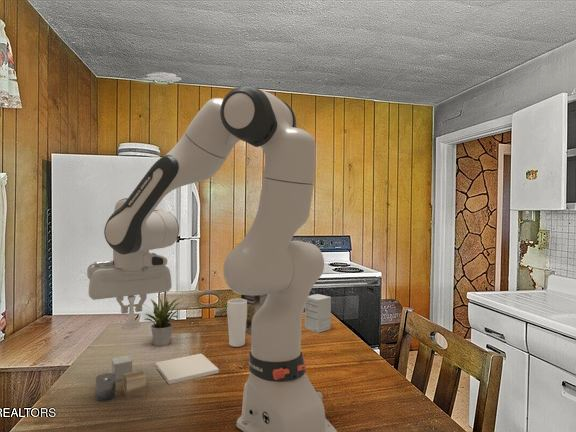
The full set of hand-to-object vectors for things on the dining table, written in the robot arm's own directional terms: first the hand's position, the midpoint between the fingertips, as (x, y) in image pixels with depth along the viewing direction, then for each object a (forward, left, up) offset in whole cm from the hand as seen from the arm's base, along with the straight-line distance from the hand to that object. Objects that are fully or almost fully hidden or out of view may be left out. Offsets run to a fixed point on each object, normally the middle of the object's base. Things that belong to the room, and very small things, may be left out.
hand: (131, 312), depth 104 cm
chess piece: (0, 0, -4) cm, 4 cm away
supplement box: (+12, -70, -19) cm, 74 cm away
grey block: (+6, +1, -19) cm, 20 cm away
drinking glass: (+12, -36, -19) cm, 43 cm away
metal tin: (-5, +7, -19) cm, 21 cm away
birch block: (-6, 0, -19) cm, 20 cm away
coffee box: (+22, -48, -19) cm, 56 cm away
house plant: (+26, -16, -19) cm, 36 cm away
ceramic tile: (+1, -15, -19) cm, 24 cm away
